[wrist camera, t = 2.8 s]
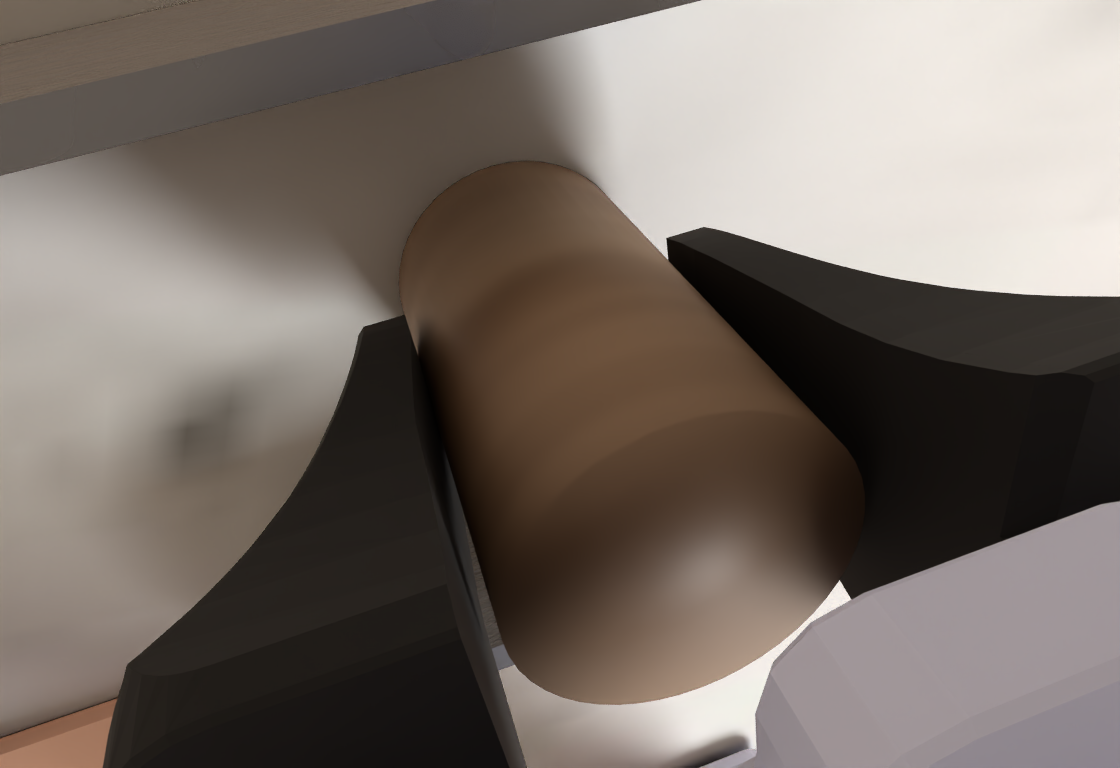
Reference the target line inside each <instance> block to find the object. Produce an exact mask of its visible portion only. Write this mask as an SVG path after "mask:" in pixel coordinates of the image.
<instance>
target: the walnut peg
mask: <svg viewBox="0 0 1120 768" xmlns="http://www.w3.org/2000/svg"><path fill="white" fill-rule="evenodd" d="M399 291H400V299H401V304H402V308H403V312H404V315H405V317H406V320H407V323H408V326H409V329H410V332H411V335H412V338H413V342H414V345H415V348H416V351H417V354H418V357H419V361H420V364H421V367H422V371H423V374H424V377H425V380H426V384H427V387H428V390H429V394H430V399H431V403H432V406H433V410H434V414H435V418H436V422H437V425H438V429H439V432H440V435H441V439H442V442H443V445H444V449H445V452H446V455H447V459H448V462H449V465H450V469H451V472H452V476H453V479H454V482H455V486H456V489H457V492H458V496H459V499H460V502H461V506H462V509H463V512H464V516H465V519H466V522H467V526H468V529H469V532H470V536H471V539H472V542H473V546H474V549H475V552H476V556H477V559H478V562H479V566H480V569H481V572H482V576H483V579H484V582H485V586H486V589H487V592H488V596H489V599H490V602H491V606H492V609H493V613H494V616H495V619H496V623H497V626H498V629H499V633H500V636H501V639H502V642H503V644H504V647H505V649H506V651H507V653H508V655H509V657H510V659H511V660H512V661H513V663H514V664H515V666H516V667H517V668H518V670H519V671H520V672H522V673H523V674H524V675H525V676H526V677H527V678H528V679H529V680H530V681H532V682H533V683H535V684H536V685H538V686H539V687H541V688H543V689H544V690H546V691H548V692H551V693H553V694H555V695H558V696H560V697H563V698H567V699H571V700H575V701H578V702H585V703H592V704H608V705H621V704H634V703H643V702H649V701H655V700H660V699H664V698H668V697H672V696H676V695H680V694H683V693H686V692H689V691H692V690H695V689H698V688H701V687H703V686H706V685H708V684H710V683H713V682H715V681H717V680H720V679H722V678H724V677H726V676H728V675H730V674H732V673H734V672H736V671H738V670H740V669H742V668H743V667H745V666H747V665H748V664H750V663H752V662H753V661H755V660H756V659H758V658H760V657H761V656H763V655H764V654H766V653H767V652H768V651H770V650H771V649H773V648H774V647H775V646H777V645H778V644H780V643H781V642H782V641H783V640H784V639H786V638H787V637H788V636H789V635H790V634H792V633H793V632H794V631H795V630H797V629H798V628H799V627H800V626H801V625H802V624H803V623H804V622H805V621H806V620H807V619H808V618H809V617H810V616H811V615H812V614H813V613H814V612H815V611H816V609H817V608H818V607H819V606H820V605H821V604H822V603H823V601H824V600H825V599H826V598H827V597H828V595H829V594H830V592H831V591H832V590H833V588H834V587H835V586H836V584H837V583H838V581H839V580H840V578H841V576H842V575H843V573H844V571H845V570H846V568H847V566H848V564H849V562H850V560H851V558H852V556H853V553H854V551H855V549H856V547H857V544H858V540H859V537H860V534H861V531H862V526H863V520H864V514H865V492H864V486H863V481H862V477H861V474H860V472H859V469H858V466H857V464H856V462H855V460H854V459H853V457H852V456H851V454H850V453H849V451H848V450H847V448H846V447H845V446H844V445H843V444H842V443H841V442H840V441H839V440H838V439H837V438H836V437H835V436H834V434H833V433H832V432H831V431H830V430H829V429H828V428H827V427H826V426H825V425H824V424H823V423H822V422H821V421H820V420H819V419H818V418H817V417H816V416H815V414H814V413H813V412H812V411H811V410H810V409H809V408H808V407H807V406H806V405H805V404H804V403H803V402H802V401H801V400H800V399H799V398H798V397H797V396H796V394H795V393H794V392H793V391H792V390H791V389H790V388H789V387H788V386H787V385H786V384H785V383H784V382H783V381H782V380H781V379H780V378H779V377H778V376H777V374H776V373H775V372H774V371H773V370H772V369H771V368H770V367H769V366H768V365H767V364H766V363H765V362H764V361H763V360H762V359H761V358H760V357H759V356H758V354H757V353H756V352H755V351H754V350H753V349H752V348H751V347H750V346H749V345H748V344H747V343H746V342H745V341H744V340H743V339H742V338H741V337H740V336H739V334H738V333H737V332H736V331H735V330H734V329H733V328H732V327H731V326H730V325H729V324H728V323H727V322H726V321H725V320H724V319H723V318H722V317H721V316H720V314H719V313H718V312H717V311H716V310H715V309H714V308H713V307H712V306H711V305H710V304H709V303H708V302H707V301H706V300H705V299H704V298H703V297H702V296H701V294H700V293H699V292H698V291H697V290H696V289H695V288H694V287H693V286H692V285H691V284H690V283H689V282H688V281H687V280H686V279H685V278H684V277H683V276H682V275H681V273H680V272H679V271H678V270H677V269H676V268H675V267H674V266H673V265H672V264H671V263H670V262H669V261H668V260H667V259H666V258H665V257H664V256H663V255H662V253H661V252H660V251H659V250H658V249H657V248H656V247H655V246H654V245H653V244H652V243H651V242H650V241H649V240H648V239H647V238H646V237H645V236H644V235H643V233H642V232H641V231H640V230H639V229H638V228H637V227H636V226H635V225H634V224H633V223H632V222H631V221H630V220H629V219H628V218H627V217H626V216H625V215H624V213H623V212H622V211H621V210H620V209H619V208H618V207H617V206H616V205H615V204H614V203H613V202H612V201H611V200H610V199H609V198H608V197H607V196H606V195H605V194H604V193H603V192H602V191H601V190H600V189H599V188H598V187H597V186H596V185H595V184H594V183H592V182H591V181H590V180H588V179H587V178H585V177H584V176H582V175H580V174H578V173H576V172H574V171H572V170H570V169H567V168H564V167H561V166H559V165H554V164H549V163H545V162H534V161H520V162H508V163H504V164H499V165H494V166H491V167H488V168H485V169H482V170H479V171H477V172H475V173H473V174H471V175H468V176H466V177H464V178H462V179H461V180H459V181H458V182H456V183H455V184H453V185H452V186H450V187H449V188H448V189H446V190H445V191H444V192H443V193H442V194H441V195H439V196H438V197H437V198H436V199H435V200H434V201H433V202H432V203H431V204H430V205H429V207H428V208H427V209H426V210H425V211H424V212H423V214H422V215H421V217H420V218H419V220H418V221H417V223H416V224H415V226H414V228H413V230H412V232H411V234H410V235H409V237H408V240H407V243H406V245H405V248H404V251H403V254H402V259H401V264H400V271H399Z"/></svg>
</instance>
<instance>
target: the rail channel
mask: <svg viewBox="0 0 1120 768" xmlns="http://www.w3.org/2000/svg"><path fill="white" fill-rule="evenodd" d="M696 1H700V0H197V1H193V2H189V3H184V4H180V5H176V6H171V7H167V8H162V9H158V10H154V11H149V12H145V13H140V14H136V15H132V16H127V17H123V18H119V19H114V20H110V21H105V22H101V23H97V24H92V25H88V26H84V27H79V28H75V29H70V30H66V31H62V32H57V33H53V34H49V35H44V36H40V37H35V38H31V39H27V40H22V41H18V42H13V43H9V44H5V45H0V176H1V175H5V174H9V173H13V172H17V171H21V170H25V169H29V168H33V167H37V166H41V165H45V164H49V163H53V162H57V161H61V160H65V159H69V158H73V157H77V156H81V155H85V154H89V153H93V152H97V151H101V150H105V149H109V148H113V147H117V146H121V145H125V144H129V143H133V142H137V141H141V140H145V139H149V138H153V137H157V136H161V135H165V134H169V133H173V132H177V131H181V130H185V129H189V128H193V127H197V126H201V125H205V124H209V123H213V122H217V121H221V120H225V119H229V118H233V117H237V116H241V115H245V114H249V113H253V112H257V111H261V110H265V109H269V108H273V107H277V106H281V105H285V104H289V103H293V102H297V101H301V100H305V99H309V98H313V97H317V96H321V95H325V94H329V93H333V92H337V91H341V90H345V89H349V88H353V87H357V86H361V85H365V84H369V83H373V82H377V81H381V80H385V79H389V78H393V77H397V76H400V75H404V74H408V73H412V72H416V71H420V70H424V69H428V68H432V67H436V66H440V65H444V64H448V63H452V62H456V61H460V60H464V59H468V58H472V57H476V56H480V55H484V54H488V53H492V52H496V51H500V50H504V49H508V48H512V47H516V46H520V45H524V44H528V43H532V42H536V41H540V40H544V39H548V38H552V37H556V36H560V35H564V34H568V33H572V32H576V31H580V30H584V29H588V28H592V27H596V26H600V25H604V24H608V23H612V22H616V21H620V20H624V19H628V18H632V17H636V16H640V15H644V14H648V13H652V12H656V11H660V10H664V9H668V8H672V7H676V6H680V5H684V4H688V3H692V2H696ZM462 510H463V509H462ZM463 516H464V512H463ZM464 521H465V526H466V532H467V537H468V543H469V548H470V554H471V559H472V565H473V570H474V576H475V581H476V587H477V592H478V598H479V602H480V606H481V611H482V615H483V619H484V624H485V627H486V631H487V634H488V638H489V641H490V644H491V648H492V651H493V655H494V658H495V662H496V665H497V668H498V670H501V669H504V668H507V667H509V666H512V665H515V664H514V663H513V661H512V660H511V659H510V657H509V655H508V653H507V651H506V649H505V647H504V644H503V642H502V639H501V636H500V633H499V629H498V626H497V623H496V619H495V616H494V613H493V609H492V606H491V602H490V599H489V596H488V592H487V589H486V586H485V582H484V579H483V576H482V572H481V569H480V566H479V562H478V559H477V556H476V552H475V549H474V546H473V542H472V539H471V536H470V532H469V529H468V526H467V522H466V519H465V516H464Z"/></svg>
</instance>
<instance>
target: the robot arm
mask: <svg viewBox="0 0 1120 768" xmlns="http://www.w3.org/2000/svg"><path fill="white" fill-rule="evenodd" d="M667 249H668V260H669V262H670V263H671V264H672V265H673V266H674V267H675V268H676V269H677V270H678V271H679V272H680V273H681V275H682V276H683V277H684V278H685V279H686V280H687V281H688V282H689V283H690V284H691V285H692V286H693V287H694V288H695V289H696V290H697V291H698V292H699V293H700V294H701V296H702V297H703V298H704V299H705V300H706V301H707V302H708V303H709V304H710V305H711V306H712V307H713V308H714V309H715V310H716V311H717V312H718V313H719V314H720V316H721V317H722V318H723V319H724V320H725V321H726V322H727V323H728V324H729V325H730V326H731V327H732V328H733V329H734V330H735V331H736V332H737V333H738V334H739V336H740V337H741V338H742V339H743V340H744V341H745V342H746V343H747V344H748V345H749V346H750V347H751V348H752V349H753V350H754V351H755V352H756V353H757V354H758V356H759V357H760V358H761V359H762V360H763V361H764V362H765V363H766V364H767V365H768V366H769V367H770V368H771V369H772V370H773V371H774V372H775V373H776V374H777V376H778V377H779V378H780V379H781V380H782V381H783V382H784V383H785V384H786V385H787V386H788V387H789V388H790V389H791V390H792V391H793V392H794V393H795V394H796V396H797V397H798V398H799V399H800V400H801V401H802V402H803V403H804V404H805V405H806V406H807V407H808V408H809V409H810V410H811V411H812V412H813V413H814V414H815V416H816V417H817V418H818V419H819V420H820V421H821V422H822V423H823V424H824V425H825V426H826V427H827V428H828V429H829V430H830V431H831V432H832V433H833V434H834V436H835V437H836V438H837V439H838V440H839V441H840V442H841V443H842V444H843V445H844V446H845V447H846V448H847V450H848V451H849V453H850V454H851V456H852V457H853V459H854V460H855V462H856V464H857V466H858V469H859V472H860V474H861V477H862V481H863V486H864V492H865V514H864V520H863V526H862V531H861V534H860V537H859V540H858V544H857V547H856V549H855V551H854V553H853V556H852V558H851V560H850V562H849V564H848V566H847V568H846V570H845V571H844V573H843V575H842V576H841V578H840V581H841V583H842V584H843V586H844V588H845V589H846V591H847V593H848V594H849V596H850V598H851V599H852V600H850V601H848V602H847V603H845V604H843V605H841V606H840V607H838V608H836V609H834V610H832V611H831V612H829V613H827V614H825V615H823V616H822V617H820V618H818V619H816V620H814V621H813V622H811V623H810V624H809V625H808V626H807V627H806V628H805V629H804V630H803V631H802V632H801V634H800V635H799V636H798V637H797V638H796V639H795V640H794V641H793V642H792V643H791V644H790V645H789V646H788V647H787V648H786V649H785V650H784V651H783V652H782V653H781V654H780V655H779V656H778V658H777V659H776V660H775V661H774V662H773V664H772V667H771V670H770V673H769V675H768V678H767V681H766V684H765V687H764V690H763V693H762V696H761V699H760V702H759V705H758V707H757V710H756V713H755V716H756V744H757V750H755V749H745V750H742V751H740V752H737V753H735V754H732V755H730V756H727V757H724V758H722V759H719V760H717V761H714V762H712V763H709V764H707V765H704V766H702V767H699V768H1120V297H1090V296H1044V295H1023V294H1011V293H999V292H987V291H975V290H966V289H958V288H950V287H943V286H937V285H931V284H924V283H918V282H912V281H906V280H900V279H895V278H890V277H885V276H880V275H876V274H872V273H868V272H863V271H859V270H855V269H851V268H847V267H843V266H839V265H835V264H831V263H828V262H824V261H820V260H817V259H813V258H810V257H807V256H803V255H800V254H797V253H793V252H790V251H787V250H783V249H780V248H777V247H774V246H771V245H767V244H764V243H761V242H758V241H755V240H751V239H748V238H745V237H742V236H738V235H735V234H731V233H728V232H724V231H720V230H716V229H711V228H706V227H703V228H699V229H696V230H692V231H689V232H686V233H682V234H679V235H675V236H672V237H669V238H667ZM103 768H527V767H526V763H525V760H524V757H523V753H522V750H521V747H520V743H519V740H518V736H517V733H516V730H515V726H514V723H513V719H512V716H511V713H510V709H509V706H508V702H507V699H506V696H505V692H504V689H503V686H502V682H501V679H500V675H499V672H498V668H497V665H496V662H495V658H494V655H493V651H492V648H491V644H490V641H489V638H488V634H487V631H486V627H485V624H484V619H483V615H482V611H481V606H480V602H479V598H478V592H477V587H476V581H475V576H474V570H473V565H472V559H471V554H470V548H469V543H468V537H467V532H466V526H465V521H464V516H463V510H462V506H461V502H460V499H459V496H458V492H457V489H456V486H455V482H454V479H453V476H452V472H451V469H450V465H449V462H448V459H447V455H446V452H445V449H444V445H443V442H442V439H441V435H440V432H439V429H438V425H437V422H436V418H435V414H434V410H433V406H432V403H431V399H430V394H429V390H428V387H427V384H426V380H425V377H424V374H423V371H422V367H421V364H420V361H419V357H418V354H417V351H416V348H415V345H414V342H413V338H412V335H411V332H410V329H409V326H408V323H407V320H406V317H405V315H403V316H399V317H396V318H392V319H389V320H386V321H382V322H379V323H375V324H372V325H369V326H365V327H363V329H362V331H361V332H360V334H359V336H358V341H357V346H356V350H355V354H354V358H353V361H352V365H351V368H350V371H349V374H348V377H347V380H346V383H345V386H344V388H343V391H342V394H341V397H340V399H339V402H338V405H337V407H336V410H335V412H334V415H333V417H332V419H331V421H330V423H329V425H328V427H327V430H326V432H325V434H324V436H323V438H322V440H321V442H320V445H319V447H318V449H317V451H316V453H315V455H314V456H313V458H312V460H311V462H310V464H309V466H308V467H307V469H306V471H305V473H304V474H303V476H302V478H301V479H300V481H299V482H298V484H297V486H296V487H295V489H294V491H293V492H292V494H291V495H290V497H289V498H288V500H287V501H286V503H285V504H284V505H283V507H282V508H281V509H280V510H279V512H278V513H277V514H276V516H275V517H274V518H273V519H272V521H271V522H270V523H269V525H268V526H267V527H266V529H265V530H264V531H263V532H262V534H261V535H260V536H259V538H258V539H257V540H256V541H255V543H254V544H253V545H252V546H251V547H250V549H249V550H248V551H247V552H246V553H245V554H244V555H243V556H242V558H241V559H240V560H239V561H238V562H237V563H236V564H235V565H234V566H233V568H232V569H231V570H230V571H229V572H228V573H227V574H226V575H225V576H224V577H223V578H222V579H221V580H220V581H219V582H218V583H217V584H216V585H215V586H214V587H213V588H212V589H211V590H210V591H209V592H208V593H207V594H206V595H205V596H204V597H203V598H202V599H201V600H200V601H199V602H198V603H197V604H196V605H195V606H194V607H193V608H192V609H191V610H190V611H189V612H187V613H186V614H185V615H184V616H183V617H182V618H181V619H179V620H178V621H177V622H176V623H175V624H174V625H173V626H171V627H170V628H169V629H168V630H167V631H166V632H165V633H164V634H162V635H161V636H160V637H159V638H158V639H157V640H156V641H154V642H153V643H152V644H151V645H150V646H149V647H148V648H147V649H145V650H144V651H143V652H142V653H141V654H139V655H138V656H137V657H136V658H135V659H133V660H132V661H131V662H130V663H128V665H127V667H126V671H125V675H124V679H123V683H122V686H121V689H120V692H119V695H118V698H117V702H116V705H115V708H114V712H113V716H112V721H111V725H110V729H109V733H108V739H107V744H106V750H105V756H104V762H103Z"/></svg>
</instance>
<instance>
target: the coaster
mask: <svg viewBox="0 0 1120 768" xmlns="http://www.w3.org/2000/svg"><path fill="white" fill-rule="evenodd" d="M116 702H117V698H116V699H114V700H111V701H108V702H105V703H102V704H99V705H96V706H93V707H90V708H87V709H85V710H82V711H79V712H76V713H73V714H70V715H67V716H64V717H61V718H58V719H56V720H53V721H50V722H47V723H44V724H41V725H38V726H35V727H32V728H29V729H27V730H24V731H21V732H18V733H15V734H12V735H9V736H6V737H3V738H0V768H103V762H104V756H105V750H106V744H107V739H108V733H109V729H110V725H111V721H112V716H113V712H114V708H115V705H116Z"/></svg>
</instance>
